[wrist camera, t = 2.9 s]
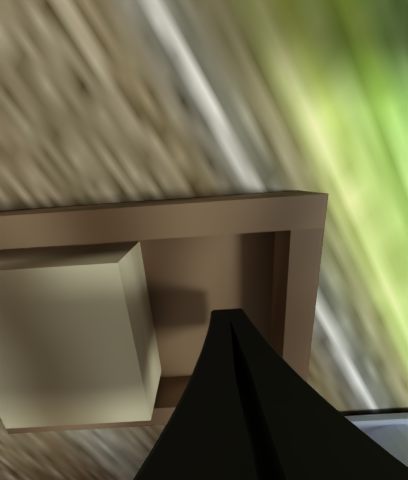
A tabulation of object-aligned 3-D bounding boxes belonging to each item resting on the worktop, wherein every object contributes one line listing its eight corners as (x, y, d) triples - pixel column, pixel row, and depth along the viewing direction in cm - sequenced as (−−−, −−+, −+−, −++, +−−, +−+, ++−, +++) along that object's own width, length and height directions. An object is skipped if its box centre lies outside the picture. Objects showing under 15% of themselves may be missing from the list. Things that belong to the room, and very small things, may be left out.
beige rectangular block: (139, 241, 9) (117, 262, 7) (161, 370, 11) (150, 420, 9) (-4, 250, 9) (-76, 275, 7) (46, 377, 11) (6, 428, 9)
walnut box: (298, 190, 9) (328, 193, 7) (285, 375, 12) (302, 417, 10) (-32, 213, 9) (-103, 223, 7) (42, 389, 12) (8, 433, 10)
